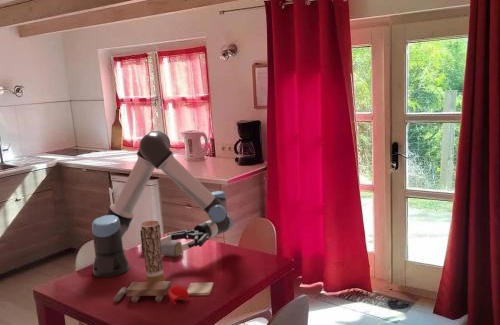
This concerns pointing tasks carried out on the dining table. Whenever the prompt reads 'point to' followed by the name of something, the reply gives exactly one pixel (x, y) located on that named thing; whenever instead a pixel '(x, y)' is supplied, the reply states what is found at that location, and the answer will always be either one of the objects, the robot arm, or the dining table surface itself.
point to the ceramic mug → (171, 248)
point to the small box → (142, 238)
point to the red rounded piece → (178, 293)
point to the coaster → (200, 288)
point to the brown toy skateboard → (145, 290)
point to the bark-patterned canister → (152, 251)
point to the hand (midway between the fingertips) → (170, 245)
